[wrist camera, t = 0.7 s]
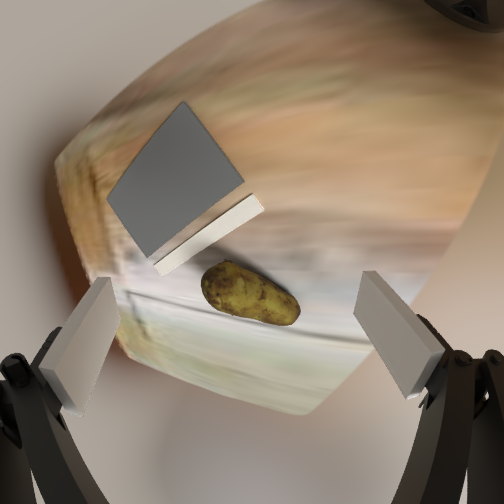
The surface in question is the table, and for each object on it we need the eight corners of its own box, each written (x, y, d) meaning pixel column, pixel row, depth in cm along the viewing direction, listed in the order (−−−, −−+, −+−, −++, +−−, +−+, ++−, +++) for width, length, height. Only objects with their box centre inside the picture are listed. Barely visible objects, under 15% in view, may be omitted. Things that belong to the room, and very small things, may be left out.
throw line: (253, 193, 34) (252, 194, 33) (264, 209, 34) (263, 210, 34) (154, 265, 48) (153, 265, 47) (162, 275, 48) (161, 276, 48)
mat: (185, 101, 31) (182, 101, 31) (244, 181, 33) (242, 182, 33) (108, 198, 45) (106, 199, 44) (148, 256, 47) (146, 258, 47)
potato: (269, 323, 43) (248, 359, 37) (214, 260, 41) (183, 290, 35) (311, 304, 38) (295, 344, 32) (251, 231, 36) (221, 262, 30)
